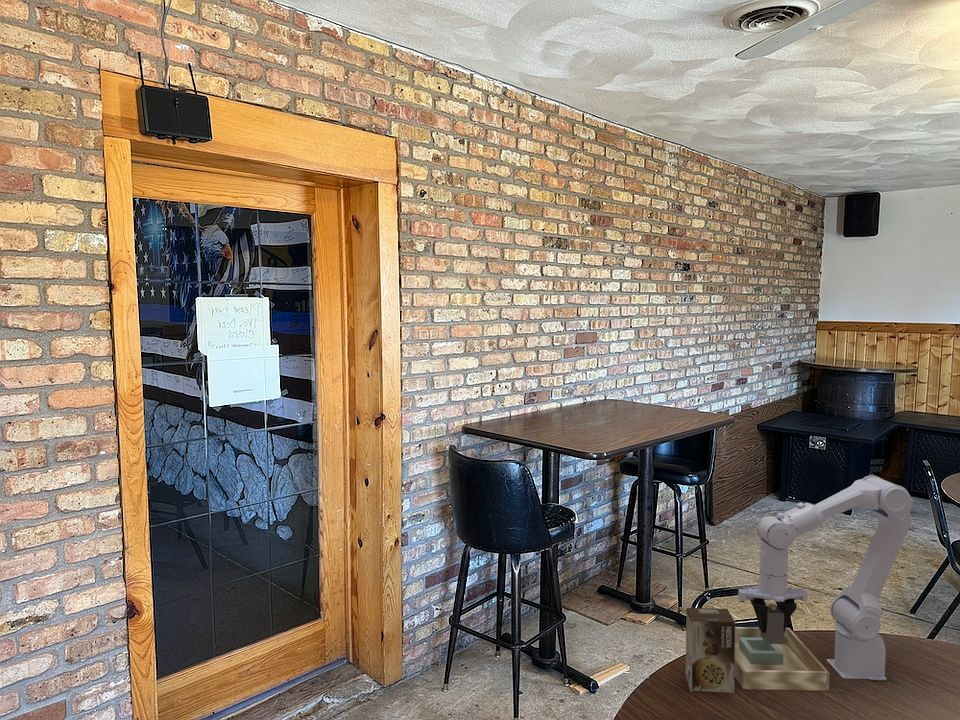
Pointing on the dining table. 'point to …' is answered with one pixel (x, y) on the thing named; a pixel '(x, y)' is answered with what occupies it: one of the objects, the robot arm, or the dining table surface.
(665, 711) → the dining table surface
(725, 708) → the dining table surface
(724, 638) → the coffee box
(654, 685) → the dining table surface
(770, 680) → the walled box
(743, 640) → the socket
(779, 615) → the plug
